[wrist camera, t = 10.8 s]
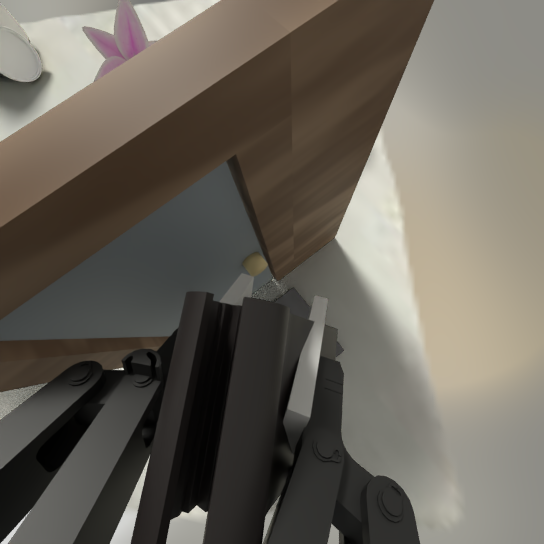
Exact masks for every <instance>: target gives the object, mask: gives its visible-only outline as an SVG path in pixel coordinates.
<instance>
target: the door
mask: <svg viewBox="0 0 544 544" xmlns="http://www.w3.org/2000/svg"><path fill="white" fill-rule="evenodd" d="M241 273H243V274H246V275H250V276H253V277H254V281H253V289H252V294H253V293H254V292H256V291H257V290H258V289H260V288H261V287H262V286H263V285H265V284H266V283H267V282H269V281H270V280H271V279H273V277H272V274H271V272H270V270H269V267H268V263H267V262H266V260H265V257H264V255H263V252H262V250H261V247H260V245H259V242H258V240H257V237H256V235H255V232H254V230H253V227H252V225H251V222H250V220H249V217H248V215H247V212H246V210H245V207H244V205H243V202H242V200H241V197H240V195H239V192H238V190H237V187H236V185H235V182H234V180H233V177H232V175H231V172H230V170H229V167H228V165H227V162H226V161H225V162H224V163H222V164H221V165H220V166H218V167H217V168H215V169H214V170H213V171H211V172H210V173H208V174H207V175H205V176H204V177H203V178H201V179H200V180H198V181H197V182H196V183H194V184H193V185H191V186H190V187H188V188H187V189H186V190H184V191H183V192H181V193H180V194H179V195H177V196H176V197H174V198H173V199H171V200H170V201H169V202H167V203H166V204H164V205H163V206H161V207H160V208H159V209H157V210H156V211H154V212H153V213H152V214H150V215H149V216H147V217H146V218H144V219H143V220H142V221H140V222H139V223H137V224H136V225H135V226H133V227H132V228H130V229H129V230H127V231H126V232H125V233H123V234H122V235H120V236H119V237H118V238H116V239H115V240H113V241H112V242H110V243H109V244H108V245H106V246H105V247H103V248H102V249H101V250H99V251H98V252H96V253H95V254H93V255H92V256H91V257H89V258H88V259H86V260H85V261H83V262H82V263H81V264H79V265H78V266H76V267H75V268H74V269H72V270H71V271H69V272H68V273H66V274H65V275H64V276H62V277H61V278H59V279H58V280H57V281H55V282H54V283H52V284H51V285H49V286H48V287H47V288H45V289H44V290H42V291H41V292H40V293H38V294H37V295H35V296H34V297H32V298H31V299H30V300H28V301H27V302H25V303H24V304H22V305H21V306H20V307H18V308H17V309H15V310H14V311H13V312H11V313H10V314H8V315H7V316H5V317H4V318H3V319H1V320H0V341H10V340H48V339H86V338H125V337H163V336H171V335H172V333H173V332H174V331H175V330H176V329H178V327H179V323H180V318H181V314H182V309H183V305H184V300H185V296H186V292H190V291H202V292H209V293H212V294H214V297H213V301H217V302H220V300H221V299H222V298H223V296H224V295H225V294H226V293H227V291H228V290H229V289H230V287H231V286H232V285H233V284H234V282H235V281H236V280H237V279H238V277H239V276H240V275H241Z"/></svg>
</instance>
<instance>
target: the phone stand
mask: <svg viewBox="0 0 544 544" xmlns="http://www.w3.org/2000/svg"><path fill="white" fill-rule="evenodd" d="M213 297H214V294H212V293H209V292H202V291H190V292H186V296H185V300H184V305H183V309H182V314H181V318H180V323H179V327H178V332H177V337H176V341H175V346H174V350H173V355H172V359H171V364H170V368H169V373H168V377H167V382H166V386H165V391H164V395H163V400H162V404H161V409H160V413H159V418H158V423H157V427H156V432H155V436H154V441H153V445H152V450H151V454H150V459H149V463H148V468H147V472H146V477H145V481H144V486H143V490H142V495H141V500H140V504H139V509H138V513H137V518H136V522H135V527H134V531H133V536H132V540H131V544H166V539H167V534H168V529H169V524H170V520H171V519H173V518H176V517H178V516H179V515H180V514H181V512H182V511H183V512H186V513H189V512H190V511H191V510H192V509H193V508H194V507H195V506H196V505H197V506H199V507H200V508H201V509H202V510H204V511H205V512H207V511H208V515H207V521H206V527H205V534H204V539H203V544H262V539H263V530H264V522H265V516H266V514H267V512H268V511H269V509H270V508H271V506H272V505H273V504H274V502H275V501H276V500H277V498H278V497H279V496H280V494H281V493H282V490H283V487H284V484H285V482H286V479H287V476H288V473H289V471H290V468H291V466H292V464H293V459H294V454H292V451H291V447H290V444H289V441H288V437H287V434H286V431H285V427H284V424H283V420H284V416H285V412H286V408H287V404H288V400H289V397H290V393H291V389H292V385H293V381H294V377H295V374H296V370H297V366H298V362H299V358H300V354H301V352H302V349H303V347H304V345H305V342H306V340H307V338H308V336H309V333H310V331H311V329H312V326H313V324H314V322H315V321H312V320H309V319H306V318H303V317H300V316H297V315H294V314H291V313H289V312H290V308H289V307H287V306H285V305H282V304H278V303H274V302H270V301H266V300H261V299H256V298H250V297H244V298H243V303H242V306H240V305H231V304H227V303H221V302H217V301H213ZM337 330H338V329H335V328H332V327H329V326H326V325H324V331H323V338H322V344H321V351H320V356H323V357H326V358H329V359H332V360H335V357H336V343H337ZM294 453H295V452H294Z"/></svg>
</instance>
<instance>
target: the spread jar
mask: <svg viewBox="0 0 544 544" xmlns="http://www.w3.org/2000/svg"><path fill="white" fill-rule="evenodd" d="M41 72H42V63H41V60H40V57H39V55H38V53H37V51H36V50H35V48H34V47H33V46H32V45H31V43H30V40H29V38H28V36H27V34H26V33H25V31H24V30H23V28H22V27H21V26H20V24H19V23H18V22H17V21H16V20H15V18H13V16H12V15H11V14H10V13H9V12H8V11H7V9H5V7H4V6H3V5H2V4H1V3H0V76H6V77H8V78H10V79H12V80H15V81H19V82H31V81H34V80H36V79H38V77H39V76H40V75H41Z"/></svg>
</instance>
